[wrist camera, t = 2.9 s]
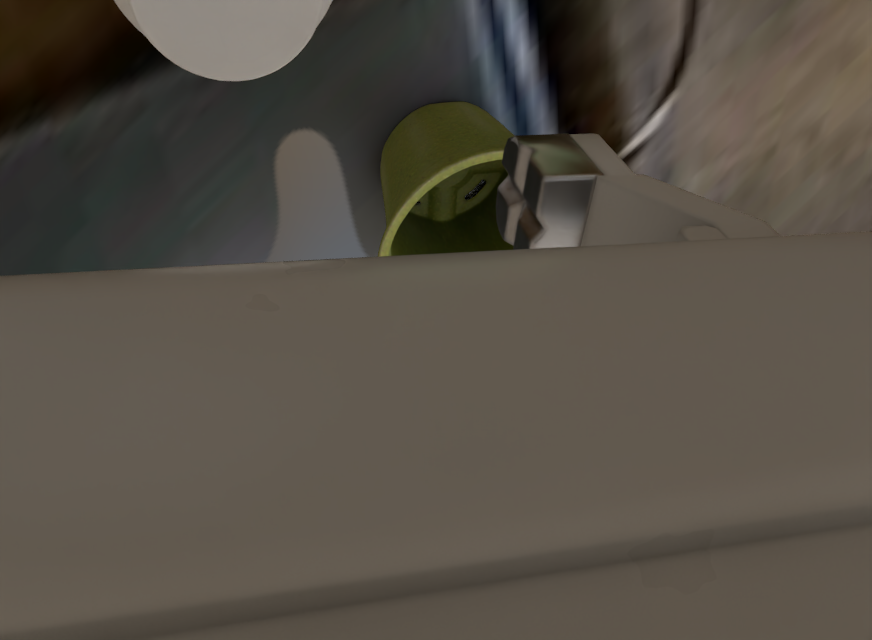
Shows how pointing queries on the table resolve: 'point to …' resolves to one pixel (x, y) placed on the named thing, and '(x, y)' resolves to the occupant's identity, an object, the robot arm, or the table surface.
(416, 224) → the plant pot
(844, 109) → the table surface
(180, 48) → the supplement bottle
